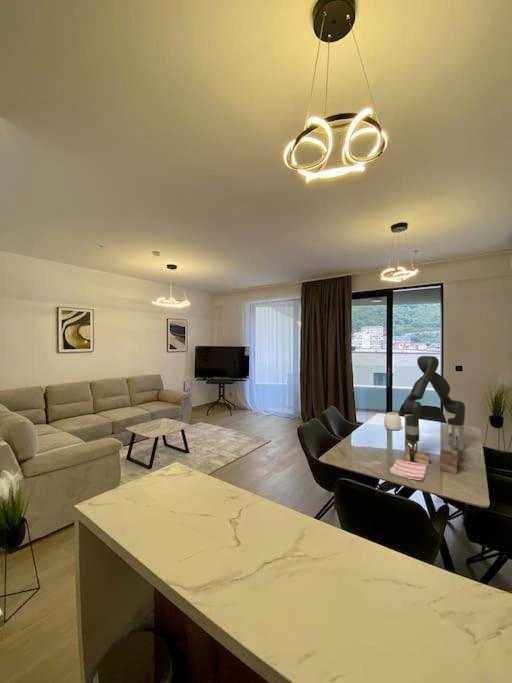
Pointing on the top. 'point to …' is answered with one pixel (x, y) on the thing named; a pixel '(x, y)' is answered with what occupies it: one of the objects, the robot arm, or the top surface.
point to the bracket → (448, 447)
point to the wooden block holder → (449, 460)
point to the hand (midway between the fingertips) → (412, 458)
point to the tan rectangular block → (419, 457)
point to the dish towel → (409, 470)
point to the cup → (392, 421)
